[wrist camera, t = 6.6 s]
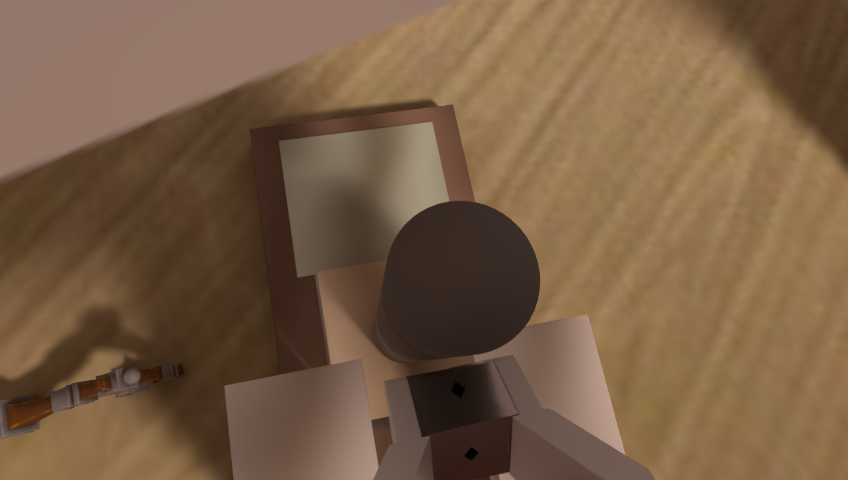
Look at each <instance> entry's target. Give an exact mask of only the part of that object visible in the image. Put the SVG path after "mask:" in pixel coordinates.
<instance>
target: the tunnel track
mask: <svg viewBox="0 0 848 480" xmlns="http://www.w3.org/2000/svg"><path fill="white" fill-rule="evenodd" d="M250 133H251V141H252V149H253V157H254V165H255V173H256V181H257V189H258V197H259V205H260V213H261V222H262V230H263V238H264V246H265V254H266V262H267V270H268V278H269V286H270V294H271V302H272V310H273V318H274V326H275V334H276V342H277V350H278V358H279V366H280V374H281V375H276V376H271V377H266V378H261V379H256V380H251V381H246V382H240V383H235V384H230V385H225V386H224V388H225V398H226V408H227V418H228V428H229V438H230V448H231V459H232V469H233V479H234V480H373V479H374V477H375V475H376V472H377V470H378V468H379V466H380V464H381V461H382V459H383V457H384V455H385V453H386V450H387V448H388V446H389V445H390V444H393V441H392V436H391V429H390V427H385V428H381V429H376V430H373V428H372V421H371V415H370V409H369V403H368V397H367V390H366V384H365V378H364V372H363V366H362V359H357V360H352V361H347V362H342V363H337V364H332V365H328V363H327V356H326V349H325V342H324V335H323V328H322V322H321V315H320V308H319V301H318V294H317V287H316V280H315V274H317V271H323V270H329V269H335V268H341V267H347V266H353V265H359V264H365V263H371V262H377V261H383V260H387V257H388V254H389V251H390V248H391V246H392V243H393V241H394V239H395V237H396V236H397V234H398V233H399V231H400V230H401V229H402V227H403V226H404V225H405V224H406V223H407V222H408V221H409V220H410V219H411V218H412V217H414V216H415V215H416V214H418V213H419V212H421V211H423V210H425V209H426V208H428V207H431V206H434V205H436V204H439V203H444V202H449V201H470V202H475V200H474V196H473V191H472V187H471V182H470V178H469V174H468V169H467V165H466V160H465V156H464V152H463V147H462V143H461V139H460V134H459V130H458V125H457V121H456V117H455V112H454V108H453V105H446V106H438V107H429V108H421V109H413V110H405V111H396V112H388V113H380V114H372V115H363V116H355V117H347V118H339V119H330V120H322V121H314V122H305V123H297V124H289V125H281V126H272V127H264V128H256V129H250ZM507 355H513V356H514V357H515V358H516V359H517V361H518V363H519V365H520V367H521V369H522V371H523V372H524V374H525V376H526V378H527V380H528V382H529V384H530V385H531V387H532V389H533V391H534V393H535V395H536V397H537V399H538V400H539V402H540V404H541V406H542V408H543V409H548V408H550V409H552V410H553V411H555V412H557V413H558V414H560V415H562V416H563V417H565V418H566V419H568V420H570V421H571V422H573V423H574V424H576V425H578V426H579V427H581V428H582V429H584V430H586V431H587V432H589V433H591V434H592V435H594V436H595V437H597V438H599V439H600V440H602V441H603V442H605V443H607V444H608V445H610V446H611V447H613V448H615V449H616V450H618V451H620V452H621V453H623V454H624V455H625V452H624V449H623V445H622V441H621V437H620V434H619V430H618V426H617V423H616V419H615V415H614V411H613V408H612V404H611V400H610V396H609V393H608V389H607V385H606V381H605V378H604V374H603V370H602V366H601V363H600V359H599V355H598V352H597V348H596V344H595V340H594V337H593V333H592V329H591V325H590V322H589V318H588V314H586V315H581V316H576V317H571V318H566V319H561V320H555V321H550V322H545V323H540V324H535V325H530V326H525V327H524V328H523V330H522V331H521V332H520V333H519V334H518V335H517V336H516V337H515V338H513V339H512V340H511V341H510V342H508V343H507V344H505V345H503V346H502V347H500V348H498V349H495V350H493V351H490V352H487V353H483V354H478V355H470V356H465V360H466V364H470V363H474V362H479V361H483V360H488V359H490V360H491V359H493V358H498V357H503V356H507ZM476 480H516V479H514V478H513V477H512V476H511V475H510V472H508V473H503V474H499V475H494V476H489V477H485V478H480V479H476Z"/></svg>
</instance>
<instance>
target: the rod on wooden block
mask: <svg viewBox="0 0 848 480" xmlns="http://www.w3.org/2000/svg"><path fill="white" fill-rule="evenodd" d="M315 280H316V287H317V294H318V301H319V308H320V315H321V322H322V328H323V335H324V342H325V349H326V356H327V363H328V365H332V364H337V363H342V362H347V361H352V360H357V359H362V366H363V372H364V378H365V384H366V390H367V397H368V403H369V409H370V415H371V421H372V428H373V430H376V429H381V428H385V427H390V423H389V416H388V409H387V402H386V395H385V388H384V381H386V380H392V379H397V378H403V377H406V378H407V376H411V375H417V374H422V373H428V372H433V371H439V370H444V369H449V368H452V367H456V366H461V365H465V364H466V360H465V356H470V355H478V354H483V353H487V352H490V351H493V350H495V349H498V348H500V347H502V346H503V345H505V344H507V343H508V342H510V341H511V340H512V339H513V338H515V337H516V336H517V335H518V334H519V333H520V332H521V331H522V330H523V328H524V327H525V326H526V324H527V323H528V321H529V320H530V318H531V316H532V314H533V312H534V310H535V307H536V304H537V301H538V296H539V289H540V272H539V267H538V262H537V258H536V255H535V252H534V250H533V248H532V246H531V244H530V242H529V240H528V239H527V237H526V236H525V234H524V233H523V232H522V230H521V229H520V228H519V227H518V226H517V225H516V224H515V223H514V222H513V221H512V220H511V219H509V218H508V217H507V216H505V215H504V214H503V213H501V212H499V211H497V210H496V209H493V208H491V207H489V206H487V205H483V204H480V203H476V202H470V201H449V202H444V203H439V204H436V205H434V206H431V207H428V208H426V209H425V210H423V211H421V212H419V213H418V214H416V215H415V216H414V217H412V218H411V219H410V220H409V221H408V222H407V223H406V224H405V225H404V226H403V227H402V229H401V230H400V231H399V233H398V234H397V236H396V237H395V239H394V241H393V243H392V246H391V248H390V251H389V254H388V257H387V260H383V261H377V262H371V263H365V264H359V265H353V266H347V267H341V268H335V269H329V270H323V271H317V274H315Z"/></svg>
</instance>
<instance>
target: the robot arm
mask: <svg viewBox="0 0 848 480" xmlns="http://www.w3.org/2000/svg"><path fill="white" fill-rule="evenodd" d="M384 388H385V395H386V402H387V409H388V416H389V423H390V429H391V436H392V441H393V444H390V445H389V446H388V448H387V450H386V453H385V455H384V457H383V459H382V461H381V464H380V466H379V468H378V470H377V472H376V475H375V477H374V479H373V480H476V479H480V478H485V477H489V476H494V475H499V474H503V473H508V472H510V475H511V476H512V477H513V478H514V479H516V480H655V479H654V477H653V476H652V474H651V473H650V471H649V470H648V469H647V468H645V467H644V466H642V465H641V464H639V463H637V462H636V461H634V460H632V459H631V458H629V457H628V456H626V455H624V454H623V453H621V452H620V451H618V450H616V449H615V448H613V447H611V446H610V445H608V444H607V443H605V442H603V441H602V440H600V439H599V438H597V437H595V436H594V435H592V434H591V433H589V432H587V431H586V430H584V429H582V428H581V427H579V426H578V425H576V424H574V423H573V422H571V421H570V420H568V419H566V418H565V417H563V416H562V415H560V414H558V413H557V412H555V411H553V410H552V409H550V408H548V409H543V408H542V406H541V404H540V402H539V400H538V399H537V397H536V395H535V393H534V391H533V389H532V387H531V385H530V384H529V382H528V380H527V378H526V376H525V374H524V372H523V371H522V369H521V367H520V365H519V363H518V361H517V359H516V358H515V357H514V356H513V355H507V356H503V357H498V358H493V359H491V360H490V359H488V360H483V361H479V362H474V363H470V364H465V365H461V366H456V367H452V368H449V369H444V370H439V371H433V372H428V373H422V374H417V375H411V376H407V378H406V377H403V378H397V379H392V380H386V381H384Z"/></svg>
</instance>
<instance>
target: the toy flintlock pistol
mask: <svg viewBox="0 0 848 480" xmlns="http://www.w3.org/2000/svg"><path fill="white" fill-rule="evenodd" d="M183 375H184V372H183V366H182V363H181V364H174V365H172V364H167V365H161V366H158V367H155V368H152V369H147V370H141V371H139V370H138V369H136V368H135V366H133V367H127V368H121V369H116V370H115V371H113V372H110V373H107V374H104V375H100V376H96V380H89V381H83V382H77V383H73V384H71V385H67V386H66V387H64V388H62V389H59V390H56V391H51V392H50V395H48V396H45V397H42V398H38V399H36V395H30V396H24V397H18V398H12V399H6V400H0V440H1V439H5V438H9V437H13V436H18V435H22V434H26V433H30V432H34V431H35V430H37V429H40V425H39V421H40V420H41V419H43V418H45V417H47V416H49V415H51V414H52V413H54V412H57V411H61V410H66V409H71V408H74V407H75V406H78V405H81V404H86V403H90V402H94V401H95V400H98V397H103V396H107V395H112V394H116V395H117V397H121V396H126V395H131V394H132V393H137V392H142V391H147V390H150V387H149V384H152V383H158V382H163V381H166V380H169V379H172V378H177V377H180V376H183Z"/></svg>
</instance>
